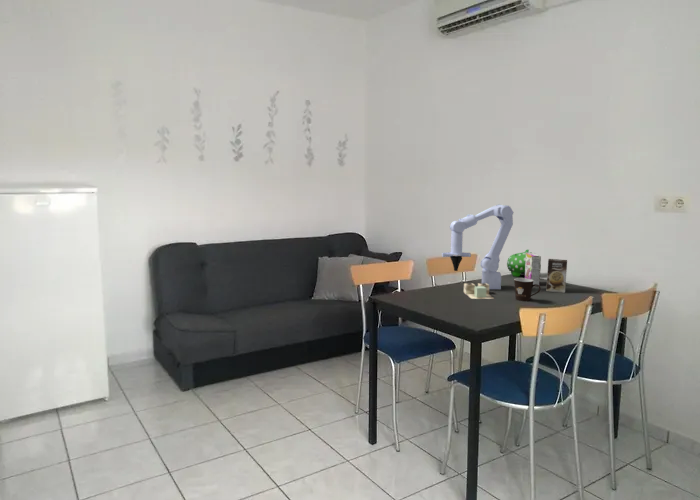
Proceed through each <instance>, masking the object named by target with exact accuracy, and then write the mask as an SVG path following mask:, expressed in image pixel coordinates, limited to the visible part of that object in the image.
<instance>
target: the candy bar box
mask: <svg viewBox="0 0 700 500" xmlns="http://www.w3.org/2000/svg"><path fill="white" fill-rule="evenodd" d="M541 262H542V256H541V255H539V254H537V253H535V252H532V253H530V252H529V253H526V261H525V276H524V278H527V279H532V280H534V281H533V285H534V284H537V285H539V286H540V285H541V284H540V283H541V281H540V280H541V270H540V266H542V265H541V264H542V263H541ZM534 287H537V286H536V285H535V286H534ZM540 287H541V286H540Z"/></svg>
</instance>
